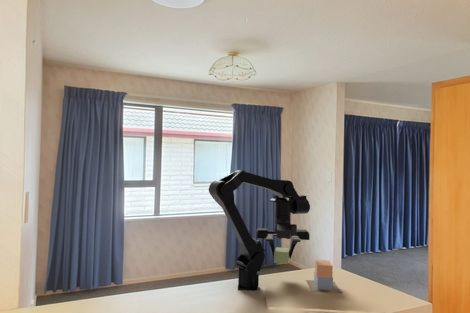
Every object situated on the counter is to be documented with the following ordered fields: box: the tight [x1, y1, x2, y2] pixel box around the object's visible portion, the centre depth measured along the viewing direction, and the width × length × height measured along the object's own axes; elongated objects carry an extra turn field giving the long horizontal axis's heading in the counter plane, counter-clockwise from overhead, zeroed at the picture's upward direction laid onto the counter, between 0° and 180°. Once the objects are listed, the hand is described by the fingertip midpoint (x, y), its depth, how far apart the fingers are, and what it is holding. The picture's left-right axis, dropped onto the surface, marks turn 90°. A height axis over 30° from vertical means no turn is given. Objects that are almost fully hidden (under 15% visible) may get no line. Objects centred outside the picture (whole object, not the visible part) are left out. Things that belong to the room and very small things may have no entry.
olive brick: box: [273, 246, 291, 265], centre depth 125 cm, size 5×7×4 cm
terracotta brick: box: [314, 259, 334, 278], centre depth 119 cm, size 5×7×4 cm
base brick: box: [313, 270, 334, 290], centre depth 119 cm, size 5×7×4 cm
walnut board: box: [305, 279, 343, 294], centre depth 119 cm, size 10×12×1 cm
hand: (282, 257), depth 125 cm, fingers closed on olive brick, 5 cm apart
